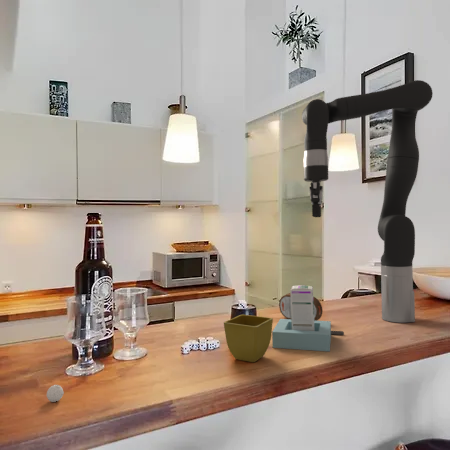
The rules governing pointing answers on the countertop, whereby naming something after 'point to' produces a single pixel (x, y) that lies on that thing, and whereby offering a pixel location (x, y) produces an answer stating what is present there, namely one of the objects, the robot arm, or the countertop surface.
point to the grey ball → (55, 393)
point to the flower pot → (248, 336)
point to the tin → (286, 307)
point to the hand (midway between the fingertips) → (316, 217)
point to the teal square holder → (302, 336)
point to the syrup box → (302, 308)
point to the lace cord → (337, 332)
